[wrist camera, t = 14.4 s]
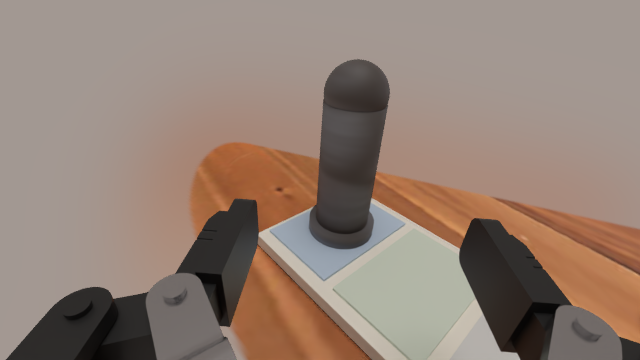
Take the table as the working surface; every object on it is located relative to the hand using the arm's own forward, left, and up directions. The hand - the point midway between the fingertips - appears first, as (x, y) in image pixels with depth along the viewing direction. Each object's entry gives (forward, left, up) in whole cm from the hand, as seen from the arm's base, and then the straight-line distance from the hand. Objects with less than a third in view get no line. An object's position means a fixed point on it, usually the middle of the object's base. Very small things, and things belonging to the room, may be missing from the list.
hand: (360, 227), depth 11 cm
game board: (-7, 0, -9) cm, 12 cm away
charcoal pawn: (-7, -7, -8) cm, 13 cm away
